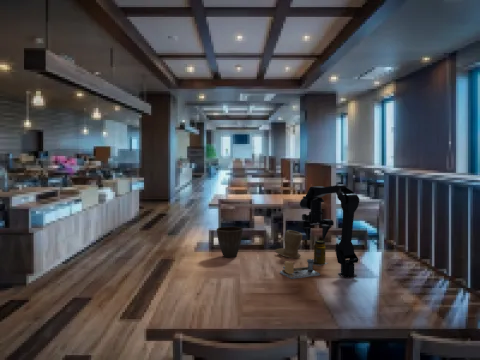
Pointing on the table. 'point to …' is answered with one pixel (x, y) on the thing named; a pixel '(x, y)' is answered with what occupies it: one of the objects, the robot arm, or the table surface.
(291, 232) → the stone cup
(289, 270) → the leg
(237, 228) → the plant pot
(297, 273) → the plate
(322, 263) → the condiment
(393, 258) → the table surface
